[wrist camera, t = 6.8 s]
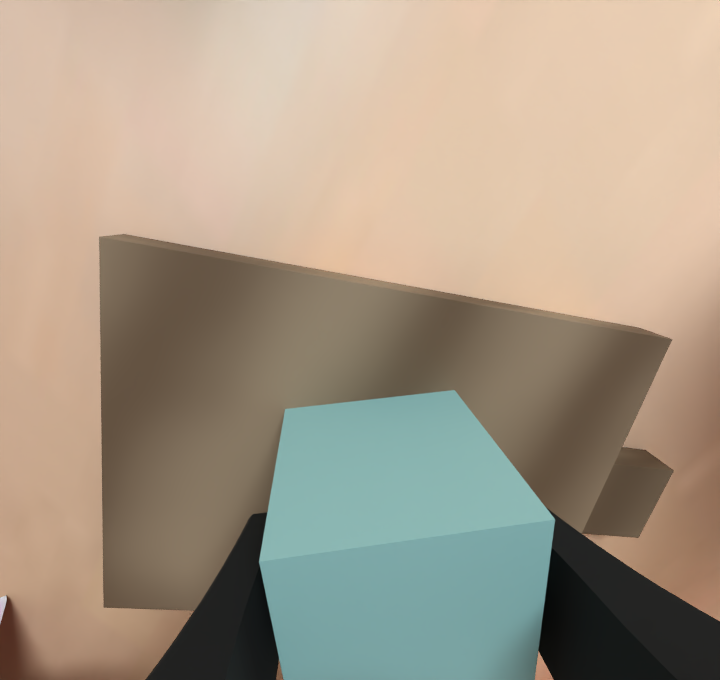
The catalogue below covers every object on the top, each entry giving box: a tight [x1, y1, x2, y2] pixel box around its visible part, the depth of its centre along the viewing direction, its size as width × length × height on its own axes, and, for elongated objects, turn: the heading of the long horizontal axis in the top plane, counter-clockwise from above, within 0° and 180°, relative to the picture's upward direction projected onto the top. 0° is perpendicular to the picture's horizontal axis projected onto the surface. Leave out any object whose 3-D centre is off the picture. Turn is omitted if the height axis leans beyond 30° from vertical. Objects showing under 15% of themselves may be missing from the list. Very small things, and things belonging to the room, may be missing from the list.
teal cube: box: [259, 390, 555, 680], centre depth 9 cm, size 5×5×5 cm
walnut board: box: [99, 234, 674, 611], centre depth 13 cm, size 18×12×1 cm, turn 79°
